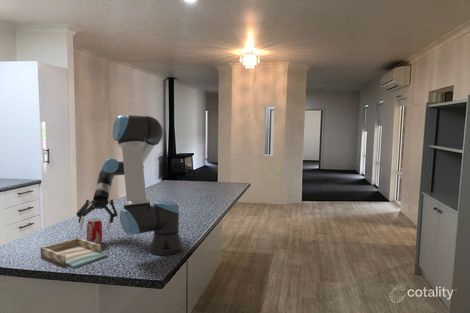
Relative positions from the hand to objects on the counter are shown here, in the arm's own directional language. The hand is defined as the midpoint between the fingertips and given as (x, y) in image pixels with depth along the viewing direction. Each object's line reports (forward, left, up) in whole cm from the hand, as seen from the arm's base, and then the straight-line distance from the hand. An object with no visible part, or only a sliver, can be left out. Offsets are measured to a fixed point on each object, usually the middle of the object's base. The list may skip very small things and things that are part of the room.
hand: (94, 228), depth 174 cm
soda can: (-1, +1, -8) cm, 8 cm away
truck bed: (-10, +17, -7) cm, 21 cm away
